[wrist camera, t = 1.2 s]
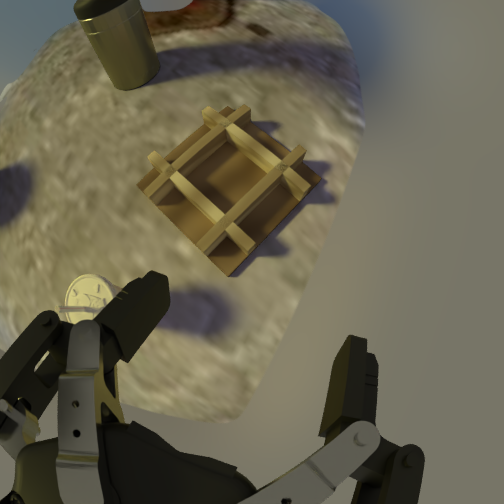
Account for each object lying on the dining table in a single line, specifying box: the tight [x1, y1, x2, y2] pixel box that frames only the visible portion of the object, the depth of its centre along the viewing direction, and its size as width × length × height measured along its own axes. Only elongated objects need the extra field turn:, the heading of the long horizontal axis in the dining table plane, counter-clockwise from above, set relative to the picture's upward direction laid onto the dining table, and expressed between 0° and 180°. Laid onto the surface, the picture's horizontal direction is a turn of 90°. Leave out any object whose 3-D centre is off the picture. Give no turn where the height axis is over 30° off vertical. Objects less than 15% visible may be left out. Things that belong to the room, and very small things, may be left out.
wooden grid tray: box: [137, 105, 321, 277], centre depth 32 cm, size 17×17×4 cm
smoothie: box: [55, 274, 123, 324], centre depth 24 cm, size 6×6×14 cm
